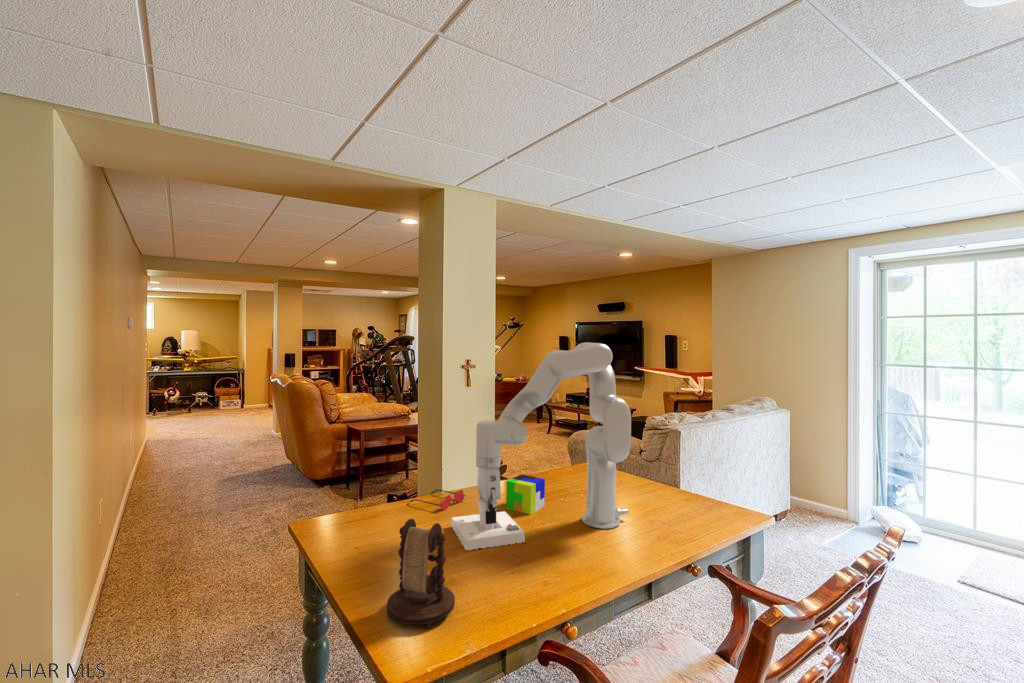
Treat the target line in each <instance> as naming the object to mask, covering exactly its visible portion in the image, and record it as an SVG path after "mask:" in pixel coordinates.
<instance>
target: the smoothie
mask: <svg viewBox="0 0 1024 683" xmlns="http://www.w3.org/2000/svg"><path fill="white" fill-rule="evenodd" d="M488 500H492V499H491V498H488ZM498 503H499V500H497V505H498ZM476 504H477V506H478V514H479V515H480V524H481V530H489V529H495V528H494V524H486V511H487V506H486V501H485V500H484V499H483V498H480V497H479V498H477V501H476ZM490 504H492V502H489V506H490ZM481 530H480V531H481Z"/></svg>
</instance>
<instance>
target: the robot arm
mask: <svg viewBox="0 0 1024 683" xmlns="http://www.w3.org/2000/svg"><path fill="white" fill-rule="evenodd" d="M613 358H614V356H613V351H612V350H611V348H610V347H609V346H608V345H606V344H605V343H601V342H581V343H579V344H577V345H576V346H575V347H574V349H571V350H563V349H560V350H559V349H556V350H555V349H554V350H551V351H549V352H548V353H547V354H546V355H545V356H544V358H543V359H542V361H541V362H540V364H539V365H538V367H537V369H536V370H535V372H534V373H533V375H532V376H531V378H530V379H529V381H528V382H527V384H526V385H525V386H524V387H523V388H522V389H521V390H520V391H519V392H518V393H516V395H515V396H514V397H513V398H512V399H511V400H510V401H509V403H508V404H507V405H506V407H505V408H504V410H503V411H502V413H501V414H500V416H499V417H498V419H497V420H493V419H492V420H490V419H489V420H487V419H486V420H481V421H479V422H478V423H477V424H476V427H475V428H476V433H475V434H476V436H475V437H476V441H475V442H476V445H475V447H476V448H475V449H476V450H475V452H476V453H475V467H477V486H476V488H477V493H478V494H479V498H483V499H484V500H485V501H486V506H487V511H486V524H494V523H496V512H497V506H498V504H497V500H498V501H501V499H502V497H501V494H502V492H501V490H502V489H501V488H502V487H501V486H502V485H501V474H500V473H501V472H500V467H501V447H502V445H503V446H504V445H505V446H512V447H515V446H520V445H522V444H524V443H525V442H526V440H527V438H528V435H529V434H528V430H527V427H526V426H525V424H524V423H522V422H523V421H524V420H525V418H526V417H527V416H528V414H530V413H531V411H533V410H534V409H536V408H538V407H540V406H543V405H544V404H546V403H548V401H550V399H551V398H552V396H553V394H554V393H555V391H556V390H557V388H558V387H559V385H560V383H561V381H562V380H563V379H572V378H577V377H582V376H586V375H587V376H588V380H589V381H588V382H589V415H590V417H591V418H592V419H593V420H594V421H595V422H596V423H600V424H602V425H595V426H593V427H592V428H590V429H589V430H588V431H587V433H586V436H585V440H584V441H585V442H584V445H585V451H586V462H587V463H586V467H587V468H586V470H587V471H586V510H585V511H586V512H585V513H583V514H582V516H581V521H582V523H583V524H585V525H586V526H589V527H592V528H595V529H601V530H603V529H613V528H614V529H615V528H617V527H619V526H620V524H621V519H620V517H621V516H624V515H629V509H628V508H627V507H625V508H621V507H620V506H616V505H617V504H616V503H617V499H616V498H617V496H616V495H617V493H616V492H617V463H621V462H623V461H624V460H626V458H627V457H628V456H629V454H630V451H631V445H632V437H631V436H632V413H631V409H630V406H629V405H628V403H627V402H626V401H625V400H624V399H622V397H621V398H620V397H618V396H617V389H616V388H617V387H616V376H615V371H614V369H613V367H612V365H611V364H612V361H613ZM488 498H491V499H492V500H488ZM489 502H492V504H490V506H489Z"/></svg>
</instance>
